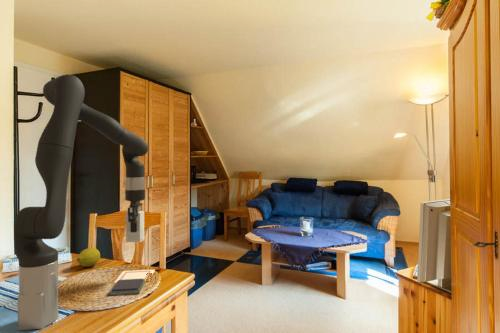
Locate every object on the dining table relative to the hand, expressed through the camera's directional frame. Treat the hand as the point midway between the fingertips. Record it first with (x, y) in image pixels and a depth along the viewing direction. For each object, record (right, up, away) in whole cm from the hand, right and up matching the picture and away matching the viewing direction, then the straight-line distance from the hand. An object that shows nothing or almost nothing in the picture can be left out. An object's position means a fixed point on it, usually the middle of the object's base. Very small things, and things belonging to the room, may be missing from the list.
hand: (135, 230), depth 118 cm
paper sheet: (0, -19, 0) cm, 19 cm away
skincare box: (0, -5, 0) cm, 5 cm away
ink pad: (+2, -19, -11) cm, 22 cm away
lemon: (-25, -19, +12) cm, 34 cm away
